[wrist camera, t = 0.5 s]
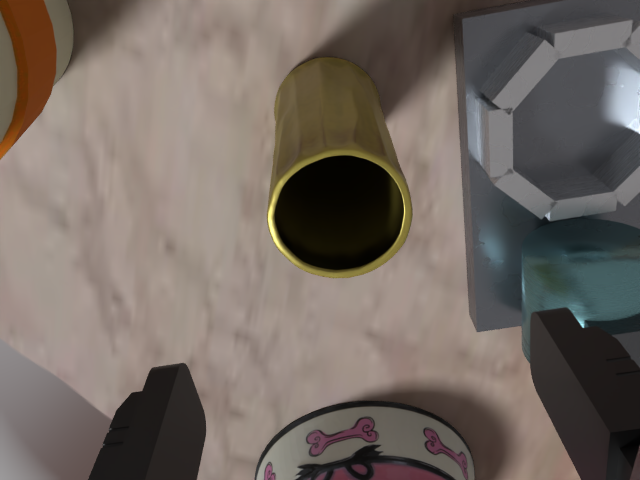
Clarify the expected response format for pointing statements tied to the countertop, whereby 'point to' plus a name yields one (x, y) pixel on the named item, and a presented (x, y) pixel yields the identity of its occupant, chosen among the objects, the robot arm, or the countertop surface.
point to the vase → (335, 173)
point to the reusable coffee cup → (30, 61)
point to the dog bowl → (367, 446)
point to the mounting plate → (552, 163)
